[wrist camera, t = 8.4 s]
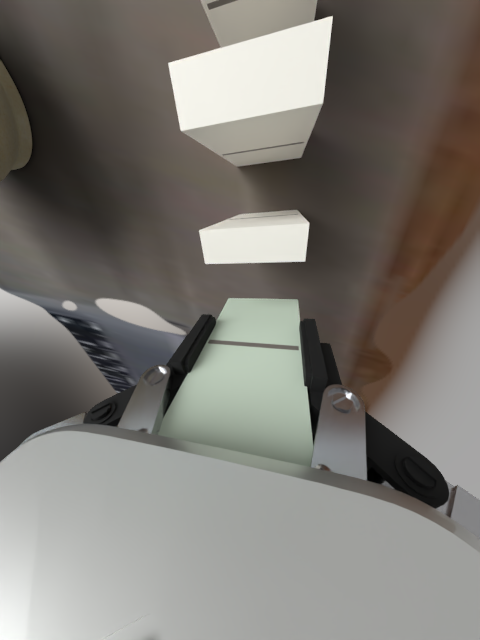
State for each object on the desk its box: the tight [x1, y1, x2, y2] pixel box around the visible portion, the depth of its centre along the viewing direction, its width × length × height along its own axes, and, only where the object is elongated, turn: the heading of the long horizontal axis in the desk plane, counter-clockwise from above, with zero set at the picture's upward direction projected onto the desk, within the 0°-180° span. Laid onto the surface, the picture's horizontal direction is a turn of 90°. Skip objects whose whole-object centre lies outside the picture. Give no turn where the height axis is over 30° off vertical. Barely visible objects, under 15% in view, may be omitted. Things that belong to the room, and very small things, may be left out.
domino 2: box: [199, 210, 309, 264], centre depth 13 cm, size 2×5×10 cm, turn 95°
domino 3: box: [158, 298, 313, 467], centre depth 10 cm, size 2×5×10 cm, turn 95°
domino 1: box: [168, 16, 333, 167], centre depth 10 cm, size 2×5×10 cm, turn 95°
